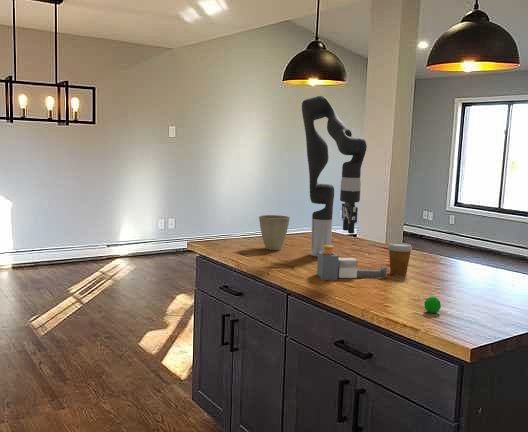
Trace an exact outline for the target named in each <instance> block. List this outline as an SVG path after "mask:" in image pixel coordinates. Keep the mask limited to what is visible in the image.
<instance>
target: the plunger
mask: <svg viewBox="0 0 528 432" xmlns="http://www.w3.org/2000/svg"><path fill="white" fill-rule="evenodd" d="M323 248H324V255H332V254H333V252H334V251H333V250H334V248H335V245H332V244H331V245H323Z"/></svg>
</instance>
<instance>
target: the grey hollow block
mask: <svg viewBox="0 0 528 432" xmlns="http://www.w3.org/2000/svg"><path fill="white" fill-rule="evenodd" d="M338 258H340V257H339V255H338V254H337V253H335V252H334V251H333V254H332V255H324V252H318V257H317V262H316V263H317V266H316V275H317V276H318V277H319V278H320V279H321V280H338V278H339V277H338Z"/></svg>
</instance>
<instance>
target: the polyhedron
mask: <svg viewBox="0 0 528 432" xmlns="http://www.w3.org/2000/svg"><path fill="white" fill-rule="evenodd" d="M423 304H424V309H425V310H426V312H428V313H430V314H436V313H439V311H440V310H441V308H442V307H441V305H442V304H441V301H440V299H438V298H437V297H435V296H430V297H428V298H426V299H425V300H424V303H423Z"/></svg>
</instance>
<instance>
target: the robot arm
mask: <svg viewBox="0 0 528 432" xmlns="http://www.w3.org/2000/svg"><path fill="white" fill-rule="evenodd" d="M301 113H302V119H303V126H304V131H305V141H306V143H305V144H306V156H307V163H308V175H309V199H310V202H311V203H312V204H314V205H315V204H317V205H324V207H323V208H322V209H319V210H316V211H313V212H312V214H311V237H310V238H311V239H310V240H311V241H310V256H311V257H316V258H318V252H324V248H323V245H332V236H333V235H332V232H333V231H332V230H333V211H334V201H335V187H334V185H332V184H329V183H328V184H327V183H326V184H325V183H318V179H319V177H320V175H321V173H322V171H323V170H324V169H325V168H326V166H327V164H328V162H329V148H328V147H329V146H328V144H327V141H326V140H325V139H324V138H323V137H322V136H321V135H320V134H319V133H318V131H317V129H316V128H315V123H314V121H318V120H321V119H323V118H326V119H327V124H326V130H327V133H328V134H329V135H330V136H329V137H331V138H332V139H333V140H334V141H335V144H336V146H337V149H338V151H339V152H340V153H341V154H342V155H344V156H351V159H350V160H349V161H345V162H343V164H342V167H341V179H340V180H341V181H340V193H339V194H340V195H339V201H340V202H342V204H341V216H340V217H341V219H342V230H343V231H346V232H347V233H348V234H350V235H351V234H352V235H353V234H355V224H356V223H357V222H358V210H359V208H358V206H356V204H355V203H360V201H361V200H360V199H361V186H362V185H361V183H362V182H361V173H362V172H361V171H362V169H361V168H362V165H363V161H364V158H365V155H366V152H367V147H368V146H367V142H366V140H365V138H363V137H362V136H353V134H352V130H351V129H350V128H349V127H347V125H346V124H345V123H344V122H343V121H342V120H341V119H340V117H339V116H338V113H337V111H336V110H335V109H334V108H333V106H332V104H331V102H330V101H329V100H328V98H326V96H324V95H319V96H315V97H310V98H306V99H304V100H303V101H302V103H301Z"/></svg>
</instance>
